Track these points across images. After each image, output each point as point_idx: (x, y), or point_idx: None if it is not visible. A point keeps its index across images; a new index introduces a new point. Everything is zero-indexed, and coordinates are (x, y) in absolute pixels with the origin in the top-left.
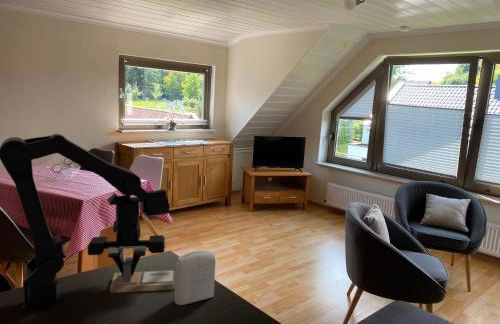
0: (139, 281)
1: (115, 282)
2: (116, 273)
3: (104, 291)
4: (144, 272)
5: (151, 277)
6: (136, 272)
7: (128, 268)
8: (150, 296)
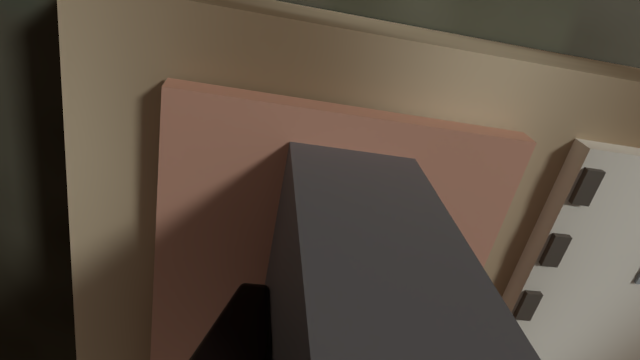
0: None
1: (135, 327)
2: (100, 21)
3: (29, 318)
4: (604, 173)
5: (625, 331)
6: (480, 163)
7: None
8: None
